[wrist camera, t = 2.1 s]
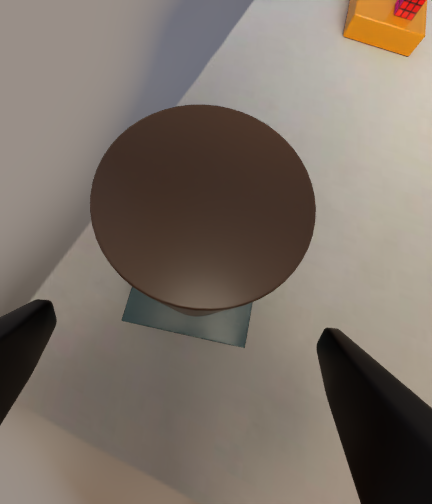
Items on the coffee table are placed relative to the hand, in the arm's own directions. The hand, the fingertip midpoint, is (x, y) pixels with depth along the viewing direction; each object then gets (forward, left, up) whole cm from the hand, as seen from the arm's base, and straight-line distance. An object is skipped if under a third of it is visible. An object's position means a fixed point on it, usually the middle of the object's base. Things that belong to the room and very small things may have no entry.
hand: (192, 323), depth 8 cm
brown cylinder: (+3, 0, -8) cm, 9 cm away
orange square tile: (+38, -14, -11) cm, 42 cm away
